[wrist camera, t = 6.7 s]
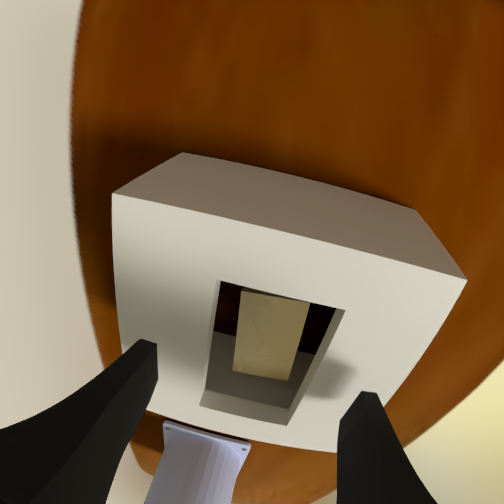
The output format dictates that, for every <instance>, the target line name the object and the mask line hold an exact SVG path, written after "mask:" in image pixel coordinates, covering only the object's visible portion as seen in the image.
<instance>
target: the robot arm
mask: <svg viewBox="0 0 504 504" xmlns="http://www.w3.org/2000/svg"><path fill="white" fill-rule="evenodd" d="M157 381H158V357H157V343H154V342H151V341H147V340H144V339H139V340H137V341H136V342H135V343H134V344H133V345H132V346H131V347H130V348H129V349H128V350H127V351H126V352H125V353H123V354H122V355H121V356H120V357H119V358H118V359H117V360H115V361H114V362H113V363H112V364H111V365H110V366H108V367H107V368H106V369H105V370H104V371H102V372H101V373H100V374H99V375H97V376H96V377H95V378H94V379H92V380H91V381H90V382H88V383H87V384H86V385H84V386H83V387H81V388H80V389H79V390H77V391H76V392H74V393H73V394H72V395H70V396H68V397H67V398H65V399H64V400H62V401H60V402H59V403H57V404H55V405H54V406H52V407H50V408H48V409H46V410H45V411H42V412H41V413H39V414H37V415H35V416H33V417H30V418H28V419H26V420H23V421H21V422H19V423H16V424H13V425H11V426H8V427H6V428H3V429H0V504H106V500H107V497H108V493H109V491H110V488H111V485H112V482H113V479H114V476H115V473H116V470H117V468H118V464H119V462H120V460H121V457H122V455H123V453H124V451H125V448H126V446H127V445H128V443H129V441H130V439H131V437H132V435H133V433H134V431H135V429H136V427H137V426H138V424H139V422H140V420H141V418H142V416H143V414H144V412H145V410H146V408H147V406H148V404H149V402H150V400H151V397H152V395H153V392H154V389H155V387H156V384H157ZM163 435H164V446H165V449H164V451H163V454H162V457H161V459H160V462H159V465H158V467H157V470H156V473H155V475H154V478H153V481H152V483H151V486H150V489H149V491H148V494H147V497H146V500H145V502H144V504H230V503H231V499H232V494H233V490H234V485H235V481H236V477H237V475H238V473H239V471H240V469H241V467H242V465H243V463H244V461H245V459H246V457H247V454H248V452H249V450H250V448H251V444H250V443H249V442H245V441H241V440H237V439H232V438H228V437H224V436H220V435H216V434H212V433H208V432H205V431H201V430H198V429H194V428H191V427H187V426H184V425H181V424H177V423H174V422H171V421H168V420H165V421H164V422H163ZM337 504H437V502H436V501H435V500H434V499H433V497H432V496H431V495H430V493H429V492H428V490H427V489H426V487H425V486H424V484H423V483H422V481H421V480H420V478H419V477H418V475H417V474H416V472H415V470H414V469H413V467H412V465H411V463H410V461H409V459H408V458H407V456H406V454H405V452H404V450H403V448H402V446H401V444H400V442H399V440H398V438H397V436H396V433H395V431H394V429H393V427H392V425H391V423H390V421H389V418H388V416H387V414H386V412H385V409H384V407H383V405H382V403H381V401H380V399H379V396H378V394H377V393H375V392H367V391H361V392H360V393H359V395H358V396H357V398H356V399H355V400H354V402H353V403H352V405H351V406H350V407H349V409H348V410H347V411H346V413H345V414H344V415H343V417H342V418H341V419H340V422H339V430H338V440H337Z"/></svg>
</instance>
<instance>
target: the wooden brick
mask: <svg viewBox="0 0 504 504" xmlns="http://www.w3.org/2000/svg"><path fill="white" fill-rule="evenodd" d="M309 306H310V302H307V301H303V300H299V299H294V298H290V297H286V296H282V295H278V294H273V293H269V292H265V291H261V290H257V289H253V288H249V287H245V286H243V287H242V290H241V298H240V307H239V316H238V326H237V335H236V344H235V353H234V362H233V371H236V372H241V373H246V374H251V375H257V376H262V377H268V378H274V379H280V380H287V381H288V378H289V375H290V372H291V369H292V365H293V362H294V359H295V355H296V352H297V349H298V345H299V342H300V338H301V335H302V331H303V328H304V324H305V320H306V317H307V313H308V310H309Z"/></svg>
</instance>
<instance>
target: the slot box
mask: <svg viewBox="0 0 504 504" xmlns="http://www.w3.org/2000/svg"><path fill="white" fill-rule="evenodd" d="M112 242H113V264H114V280H115V293H116V304H117V314H118V323H119V331H120V339H121V347H122V354H123V353H125V352H126V351H127V350H128V349H129V348H130V347H131V346H132V345H133V344H134V343H135V342H136V341H137V340H139V339H144V340H147V341H151V342H154V343H157V357H158V381H157V384H156V387H155V389H154V392H153V395H152V397H151V400H150V402H149V404H148V406H147V408H146V410H149V411H152V412H155V413H157V414H160V415H163V416H166V417H169V418H173V419H176V420H179V421H182V422H185V423H189V424H192V425H196V426H199V427H203V428H206V429H210V430H214V431H218V432H222V433H226V434H230V435H234V436H238V437H243V438H247V439H252V440H257V441H262V442H267V443H272V444H278V445H284V446H290V447H296V448H303V449H310V450H318V451H326V452H335V453H337V440H338V430H339V422H340V419H341V418H342V417H343V415H344V414H345V413H346V411H347V410H348V409H349V407H350V406H351V405H352V403H353V402H354V400H355V399H356V398H357V396H358V395H359V393H360V392H361V391H367V392H375V393H377V394H378V396H379V399H380V401H381V403H382V405H383V407H384V405H385V404H386V403H387V402H388V401H389V399H390V398H391V397H392V395H393V394H394V393H395V392H396V390H397V389H398V388H399V386H400V385H401V384H402V383H403V381H404V380H405V379H406V377H407V376H408V374H409V373H410V372H411V370H412V369H413V368H414V366H415V365H416V363H417V362H418V361H419V359H420V358H421V356H422V355H423V353H424V352H425V350H426V349H427V347H428V346H429V344H430V343H431V341H432V340H433V338H434V337H435V335H436V334H437V332H438V330H439V329H440V327H441V326H442V324H443V322H444V321H445V319H446V317H447V316H448V314H449V312H450V311H451V309H452V307H453V306H454V304H455V302H456V300H457V299H458V297H459V295H460V293H461V291H462V290H463V288H464V286H465V284H466V282H467V279H466V277H465V276H464V274H463V273H462V271H461V270H460V268H459V267H458V266H457V264H456V263H455V261H454V260H453V258H452V257H451V256H450V254H449V253H448V251H447V250H446V249H445V247H444V246H443V245H442V243H441V242H440V241H439V239H438V238H437V237H436V235H435V234H434V233H433V231H432V230H431V229H430V228H429V226H428V225H427V224H426V222H425V221H424V220H423V219H422V217H421V216H420V215H419V214H418V212H417V211H416V210H414V209H411V208H408V207H405V206H402V205H399V204H395V203H392V202H389V201H386V200H382V199H379V198H376V197H372V196H369V195H365V194H362V193H359V192H355V191H351V190H348V189H344V188H341V187H337V186H333V185H330V184H326V183H322V182H318V181H314V180H310V179H306V178H302V177H298V176H294V175H290V174H286V173H282V172H277V171H273V170H269V169H264V168H260V167H255V166H251V165H246V164H241V163H236V162H231V161H226V160H221V159H216V158H211V157H206V156H200V155H195V154H189V153H184V152H182V153H180V154H178V155H176V156H175V157H173V158H171V159H169V160H167V161H165V162H164V163H162V164H160V165H158V166H157V167H155V168H153V169H151V170H150V171H148V172H146V173H144V174H143V175H141V176H139V177H138V178H136V179H134V180H133V181H131V182H129V183H128V184H126V185H124V186H123V187H121V188H119V189H118V190H116V191H115V192H113V193H112ZM221 281H225V282H229V283H233V284H237V285H241V286H245V287H249V288H253V289H257V290H261V291H265V292H269V293H273V294H278V295H282V296H286V297H290V298H294V299H299V300H303V301H307V302H312V303H316V304H321V305H325V306H329V307H334V308H336V310H335V313H334V315H333V317H332V320H331V322H330V324H329V326H328V329H327V331H326V333H325V335H324V338H323V340H322V342H321V344H320V346H319V348H318V351H317V353H316V355H314V354H309V353H305V352H300V351H297V352H296V355H295V359H294V362H293V365H292V369H291V372H290V375H289V378H288V381H287V380H280V379H274V378H268V377H262V376H257V375H251V374H246V373H241V372H236V371H233V362H234V353H235V344H236V337H235V336H231V335H227V334H224V333H220V332H216V331H213V328H214V321H215V314H216V308H217V301H218V295H219V289H220V282H221Z"/></svg>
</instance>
